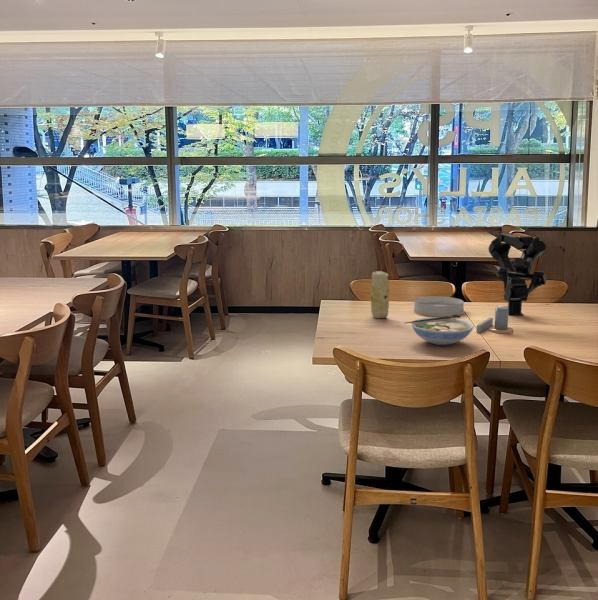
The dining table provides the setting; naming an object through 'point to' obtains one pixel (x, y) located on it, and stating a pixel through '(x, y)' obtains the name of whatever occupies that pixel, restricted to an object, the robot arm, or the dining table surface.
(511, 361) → the dining table surface
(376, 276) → the food model
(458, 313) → the dish
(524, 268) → the robot arm
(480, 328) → the acrylic divider
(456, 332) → the ramen bowl
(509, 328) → the coaster
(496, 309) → the salt shaker
